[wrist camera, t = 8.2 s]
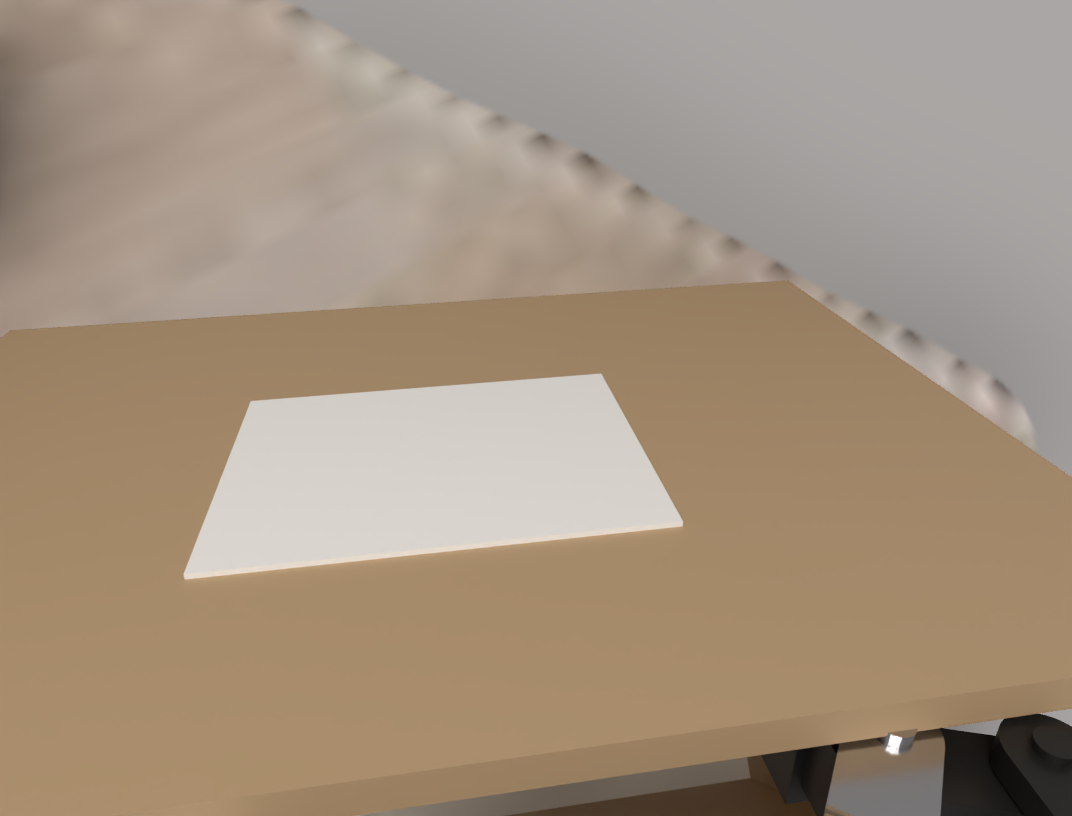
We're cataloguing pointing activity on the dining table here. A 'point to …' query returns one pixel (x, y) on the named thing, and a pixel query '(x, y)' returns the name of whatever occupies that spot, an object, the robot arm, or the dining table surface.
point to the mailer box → (639, 795)
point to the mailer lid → (498, 551)
